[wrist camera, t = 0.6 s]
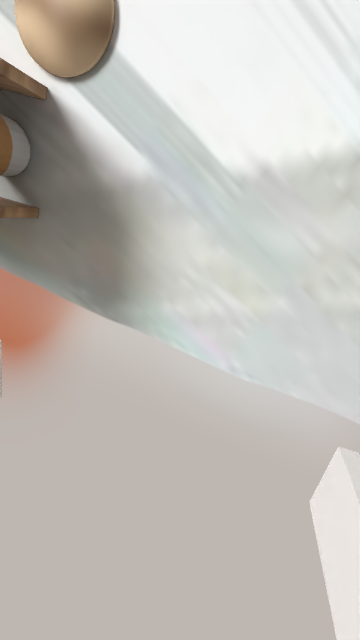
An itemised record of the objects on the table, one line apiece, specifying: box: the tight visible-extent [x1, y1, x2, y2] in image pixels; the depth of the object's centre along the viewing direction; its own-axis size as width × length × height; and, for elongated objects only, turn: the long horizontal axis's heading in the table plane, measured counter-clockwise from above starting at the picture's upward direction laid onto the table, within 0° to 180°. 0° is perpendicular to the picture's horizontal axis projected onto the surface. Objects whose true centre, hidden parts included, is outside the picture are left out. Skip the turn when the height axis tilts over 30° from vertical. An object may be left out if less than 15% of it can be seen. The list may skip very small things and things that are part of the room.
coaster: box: [15, 0, 115, 78], centre depth 32 cm, size 11×11×1 cm
